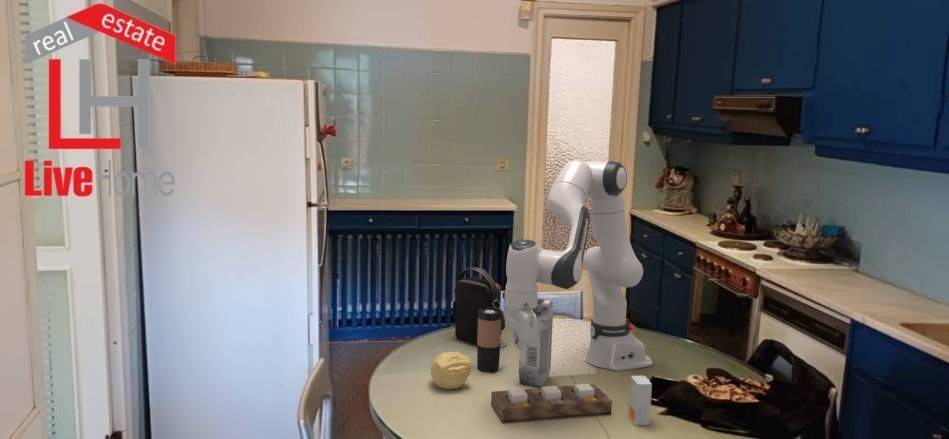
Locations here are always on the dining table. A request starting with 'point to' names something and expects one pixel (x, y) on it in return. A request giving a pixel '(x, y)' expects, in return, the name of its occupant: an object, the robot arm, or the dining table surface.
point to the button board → (550, 405)
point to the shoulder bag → (473, 305)
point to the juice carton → (538, 348)
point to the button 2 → (583, 391)
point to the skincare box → (640, 400)
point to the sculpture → (450, 370)
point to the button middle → (550, 393)
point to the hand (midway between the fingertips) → (519, 347)
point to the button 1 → (517, 396)
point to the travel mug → (488, 339)
